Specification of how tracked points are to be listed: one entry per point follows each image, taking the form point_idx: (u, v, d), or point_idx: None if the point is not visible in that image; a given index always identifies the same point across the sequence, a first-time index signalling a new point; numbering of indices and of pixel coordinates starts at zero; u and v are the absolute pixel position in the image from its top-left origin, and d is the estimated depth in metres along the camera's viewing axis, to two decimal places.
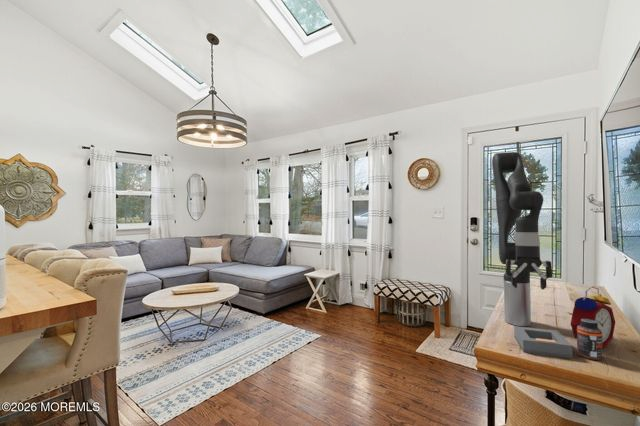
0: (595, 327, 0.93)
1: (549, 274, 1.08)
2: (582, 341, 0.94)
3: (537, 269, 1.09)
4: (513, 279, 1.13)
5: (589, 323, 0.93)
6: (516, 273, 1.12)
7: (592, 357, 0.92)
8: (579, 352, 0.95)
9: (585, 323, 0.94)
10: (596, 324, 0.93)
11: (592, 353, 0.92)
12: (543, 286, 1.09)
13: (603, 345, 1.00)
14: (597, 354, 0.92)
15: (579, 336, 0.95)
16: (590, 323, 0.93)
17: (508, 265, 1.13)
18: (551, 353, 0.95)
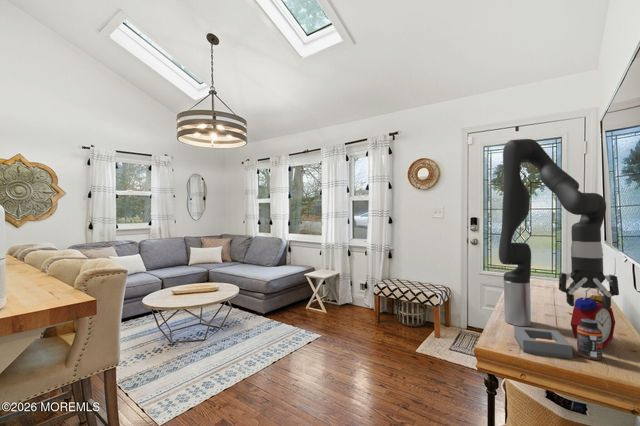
0: (595, 327, 0.93)
1: (615, 291, 0.91)
2: (582, 341, 0.94)
3: (600, 285, 0.92)
4: (569, 296, 0.96)
5: (589, 323, 0.93)
6: (573, 289, 0.95)
7: (592, 357, 0.92)
8: (579, 352, 0.95)
9: (585, 323, 0.94)
10: (596, 324, 0.93)
11: (592, 353, 0.92)
12: (607, 305, 0.92)
13: (603, 345, 1.00)
14: (597, 354, 0.92)
15: (579, 336, 0.95)
16: (590, 323, 0.93)
17: (563, 280, 0.96)
18: (551, 353, 0.95)
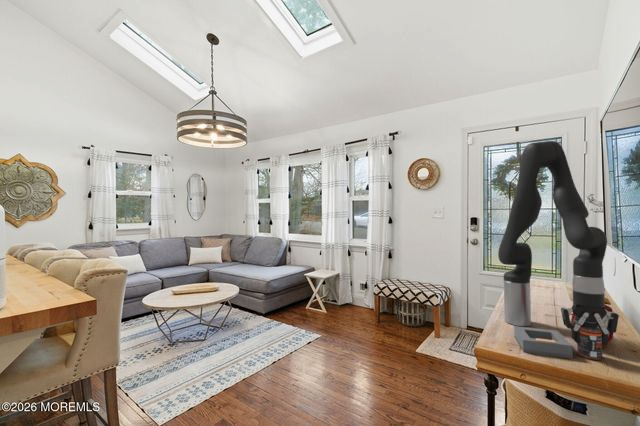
0: (595, 327, 0.93)
1: (612, 328, 0.92)
2: (582, 341, 0.94)
3: (600, 321, 0.92)
4: (574, 332, 0.95)
5: (589, 323, 0.93)
6: (578, 325, 0.95)
7: (592, 357, 0.92)
8: (579, 352, 0.95)
9: (585, 323, 0.94)
10: (596, 324, 0.93)
11: (592, 353, 0.92)
12: (604, 342, 0.92)
13: None
14: (597, 354, 0.92)
15: (579, 336, 0.95)
16: (590, 323, 0.93)
17: (566, 316, 0.96)
18: (551, 353, 0.95)
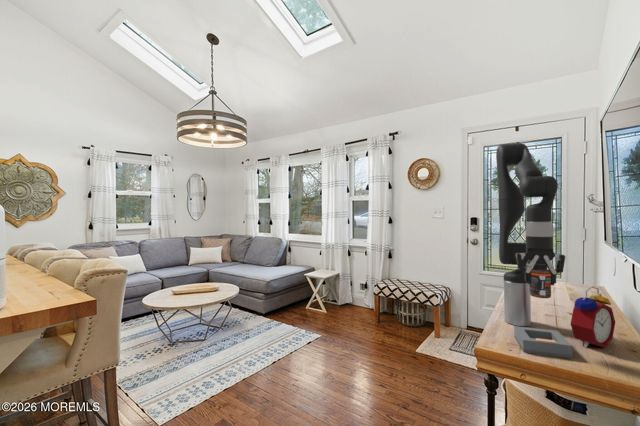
0: (544, 268, 1.00)
1: (559, 269, 0.99)
2: (533, 281, 1.01)
3: (548, 262, 1.00)
4: (526, 275, 1.03)
5: (539, 265, 1.01)
6: (529, 268, 1.02)
7: (541, 295, 1.00)
8: (531, 292, 1.02)
9: (536, 265, 1.01)
10: (545, 265, 1.00)
11: (541, 292, 1.00)
12: (552, 282, 1.00)
13: (603, 345, 1.00)
14: (546, 292, 0.99)
15: (531, 278, 1.02)
16: (540, 265, 1.01)
17: (519, 260, 1.03)
18: (551, 353, 0.95)
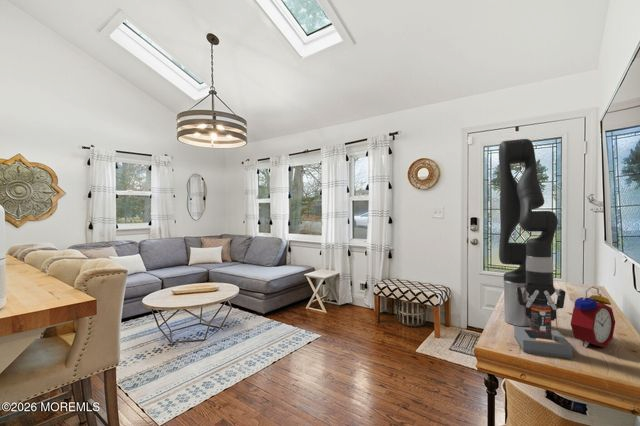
0: (545, 303, 1.00)
1: (559, 304, 0.99)
2: (533, 316, 1.01)
3: (549, 298, 1.00)
4: (527, 309, 1.03)
5: (539, 300, 1.01)
6: (529, 302, 1.02)
7: (541, 331, 0.99)
8: (531, 327, 1.02)
9: (536, 300, 1.01)
10: (546, 301, 1.00)
11: (541, 328, 0.99)
12: (553, 317, 1.00)
13: (603, 345, 1.00)
14: (546, 328, 0.99)
15: (531, 312, 1.02)
16: (540, 300, 1.00)
17: (519, 294, 1.03)
18: (551, 353, 0.95)
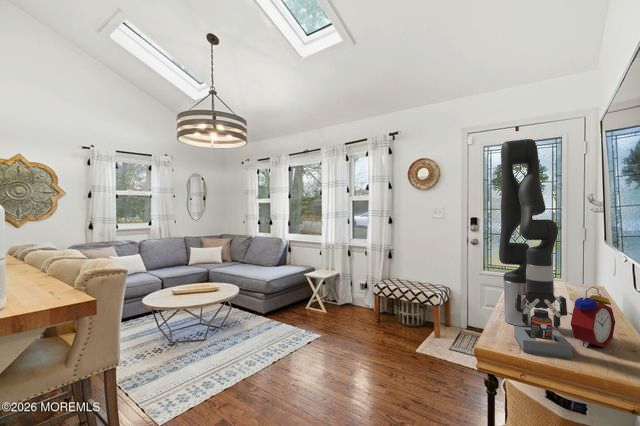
0: (546, 316, 1.00)
1: (563, 312, 0.99)
2: (534, 329, 1.01)
3: (550, 306, 0.99)
4: (524, 315, 1.03)
5: (540, 313, 1.00)
6: (527, 309, 1.02)
7: None
8: None
9: (537, 313, 1.01)
10: (547, 314, 1.00)
11: None
12: (557, 324, 0.99)
13: (603, 345, 1.00)
14: None
15: (532, 325, 1.02)
16: (541, 313, 1.00)
17: (518, 300, 1.03)
18: (551, 353, 0.95)
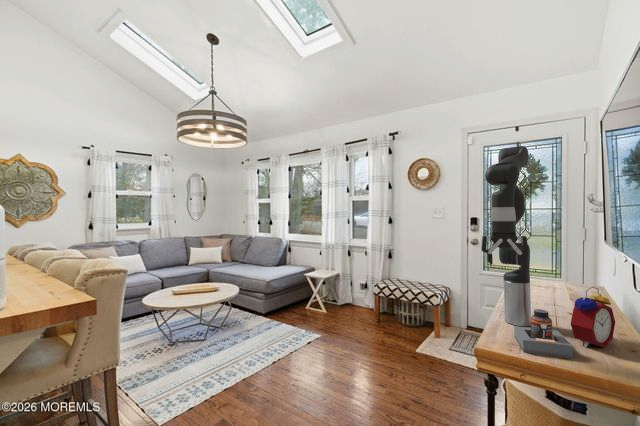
0: (546, 316, 1.00)
1: (525, 249, 1.05)
2: (534, 329, 1.01)
3: (513, 245, 1.06)
4: (489, 256, 1.10)
5: (540, 313, 1.00)
6: (492, 249, 1.09)
7: None
8: None
9: (537, 313, 1.01)
10: (547, 314, 1.00)
11: None
12: (518, 262, 1.06)
13: (603, 345, 1.00)
14: None
15: (532, 325, 1.02)
16: (541, 313, 1.00)
17: (484, 241, 1.10)
18: (551, 353, 0.95)
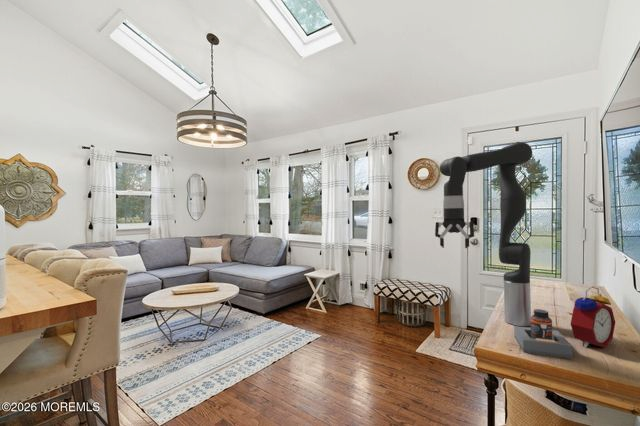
0: (546, 316, 1.00)
1: (471, 234, 1.17)
2: (534, 329, 1.01)
3: (461, 229, 1.18)
4: (441, 240, 1.22)
5: (540, 313, 1.00)
6: (443, 234, 1.21)
7: None
8: None
9: (537, 313, 1.01)
10: (547, 314, 1.00)
11: None
12: (466, 245, 1.18)
13: (603, 345, 1.00)
14: None
15: (532, 325, 1.02)
16: (541, 313, 1.00)
17: (436, 227, 1.22)
18: (551, 353, 0.95)
